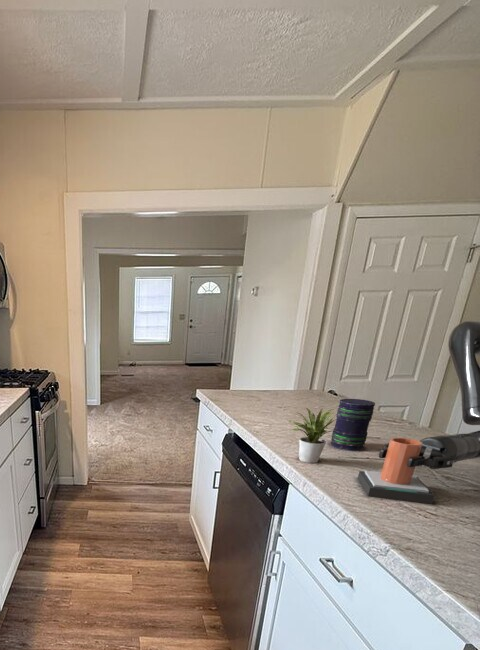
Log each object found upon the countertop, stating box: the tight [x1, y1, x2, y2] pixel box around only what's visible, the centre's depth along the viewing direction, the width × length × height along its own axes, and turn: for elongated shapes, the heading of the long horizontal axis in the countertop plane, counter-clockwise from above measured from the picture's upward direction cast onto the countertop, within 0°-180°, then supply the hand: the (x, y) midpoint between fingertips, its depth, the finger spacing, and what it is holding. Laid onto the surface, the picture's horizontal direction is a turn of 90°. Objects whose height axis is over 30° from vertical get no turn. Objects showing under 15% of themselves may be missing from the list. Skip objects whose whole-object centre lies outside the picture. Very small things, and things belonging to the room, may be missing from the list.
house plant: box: [288, 406, 338, 464], centre depth 120 cm, size 14×14×16 cm
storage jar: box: [329, 398, 376, 452], centre depth 131 cm, size 10×10×15 cm
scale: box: [357, 470, 436, 505], centre depth 100 cm, size 13×12×3 cm
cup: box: [380, 437, 423, 485], centre depth 98 cm, size 6×6×10 cm
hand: (395, 458), depth 96 cm, fingers closed on cup, 6 cm apart
